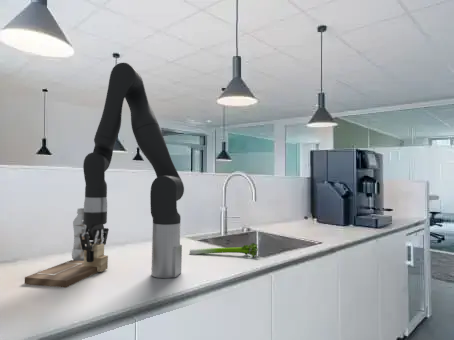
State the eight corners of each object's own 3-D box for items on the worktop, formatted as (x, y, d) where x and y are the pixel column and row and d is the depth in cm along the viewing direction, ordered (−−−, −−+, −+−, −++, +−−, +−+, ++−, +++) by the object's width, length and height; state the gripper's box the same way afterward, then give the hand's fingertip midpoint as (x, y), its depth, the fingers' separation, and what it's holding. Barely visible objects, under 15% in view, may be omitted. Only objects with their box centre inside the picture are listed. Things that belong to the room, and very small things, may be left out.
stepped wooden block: (107, 268, 111) (108, 244, 111) (100, 271, 107) (101, 246, 107) (87, 267, 112) (88, 242, 112) (80, 270, 108) (81, 245, 108)
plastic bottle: (69, 263, 118) (71, 209, 119) (73, 258, 125) (75, 208, 126) (88, 262, 120) (90, 209, 121) (91, 258, 127) (92, 207, 127)
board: (106, 268, 113) (106, 262, 113) (66, 287, 92) (66, 280, 92) (71, 265, 116) (71, 259, 116) (24, 283, 95) (24, 276, 95)
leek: (192, 256, 141) (260, 253, 138) (188, 262, 134) (260, 259, 131) (191, 243, 140) (259, 240, 137) (187, 248, 133) (259, 245, 130)
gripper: (93, 212, 102) (91, 266, 102) (116, 208, 116) (114, 256, 116) (72, 211, 104) (70, 264, 103) (97, 208, 118) (96, 254, 117)
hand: (94, 259), depth 110 cm, fingers closed on stepped wooden block, 4 cm apart
